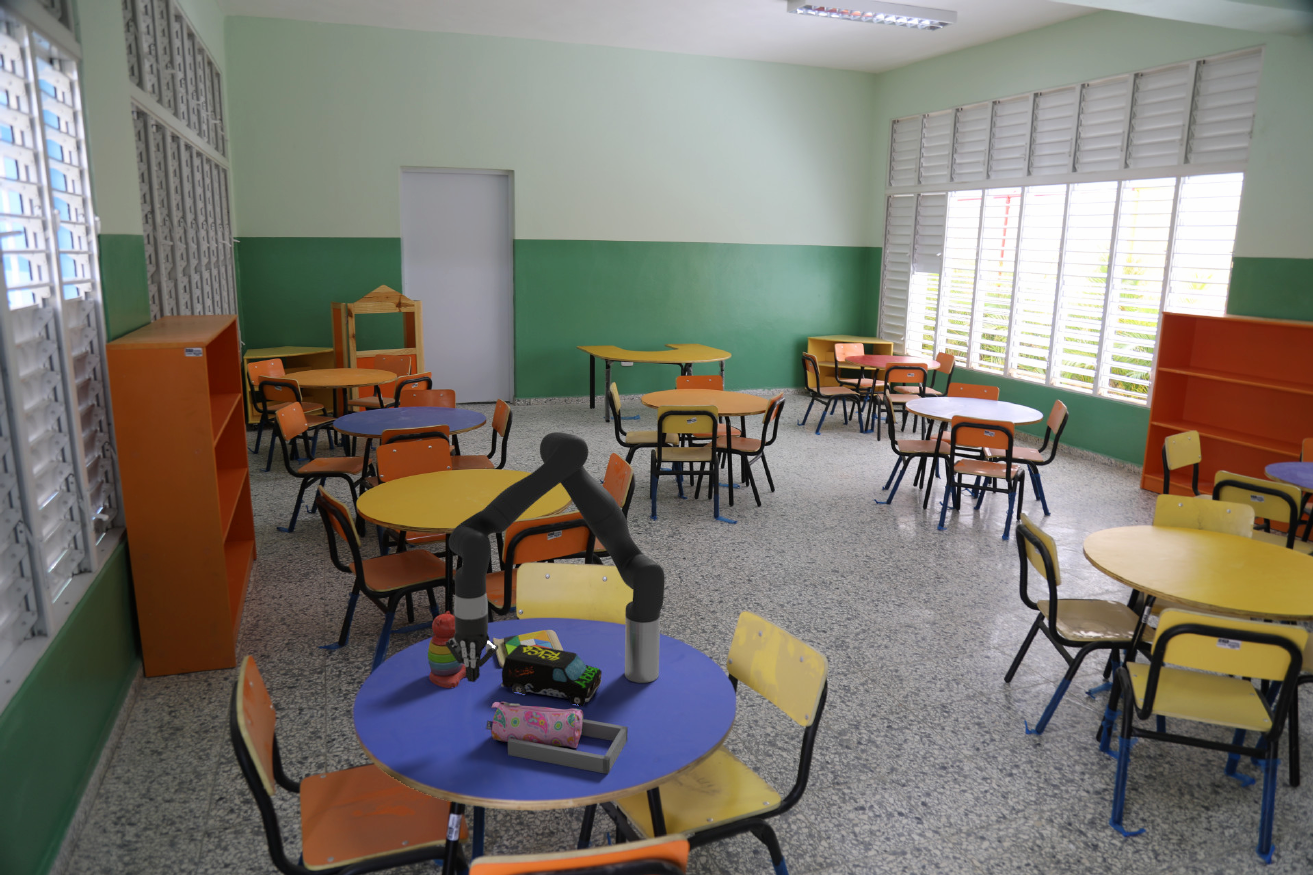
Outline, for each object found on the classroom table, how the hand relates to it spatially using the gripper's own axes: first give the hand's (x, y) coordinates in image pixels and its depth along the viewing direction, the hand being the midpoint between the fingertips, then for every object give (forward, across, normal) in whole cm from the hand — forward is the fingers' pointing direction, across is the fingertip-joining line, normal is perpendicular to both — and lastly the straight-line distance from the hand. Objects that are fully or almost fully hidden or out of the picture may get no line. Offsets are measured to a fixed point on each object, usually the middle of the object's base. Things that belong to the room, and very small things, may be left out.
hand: (472, 679), depth 200 cm
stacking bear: (+13, +19, -21) cm, 31 cm away
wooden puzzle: (+14, +5, -42) cm, 45 cm away
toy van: (+13, -10, -23) cm, 29 cm away
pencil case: (+13, -16, 0) cm, 21 cm away
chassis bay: (+13, -24, 0) cm, 27 cm away
